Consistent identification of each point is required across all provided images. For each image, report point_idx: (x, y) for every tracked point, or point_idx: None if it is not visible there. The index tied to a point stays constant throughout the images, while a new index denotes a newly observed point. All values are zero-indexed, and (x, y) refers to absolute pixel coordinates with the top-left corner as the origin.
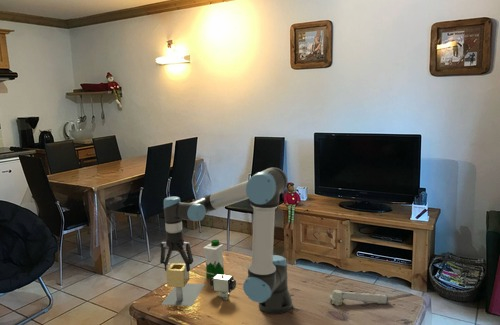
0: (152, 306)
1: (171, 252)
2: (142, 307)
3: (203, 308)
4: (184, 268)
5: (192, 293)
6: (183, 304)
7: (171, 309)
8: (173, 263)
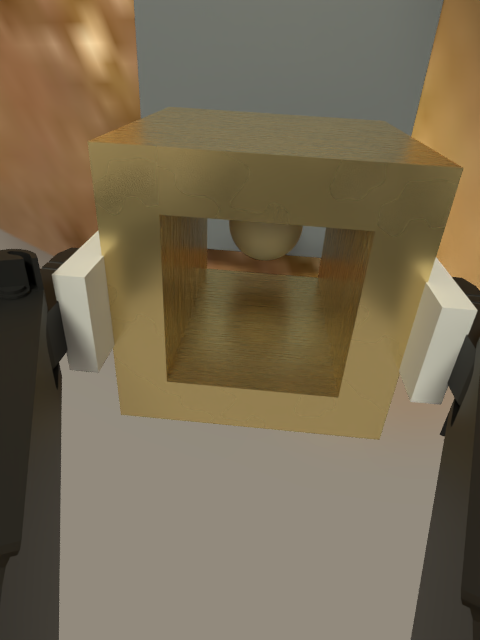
0: (87, 219)
1: (33, 521)
2: (28, 232)
3: (457, 246)
4: (398, 370)
5: (361, 44)
6: (314, 243)
7: (233, 257)
8: (124, 160)
